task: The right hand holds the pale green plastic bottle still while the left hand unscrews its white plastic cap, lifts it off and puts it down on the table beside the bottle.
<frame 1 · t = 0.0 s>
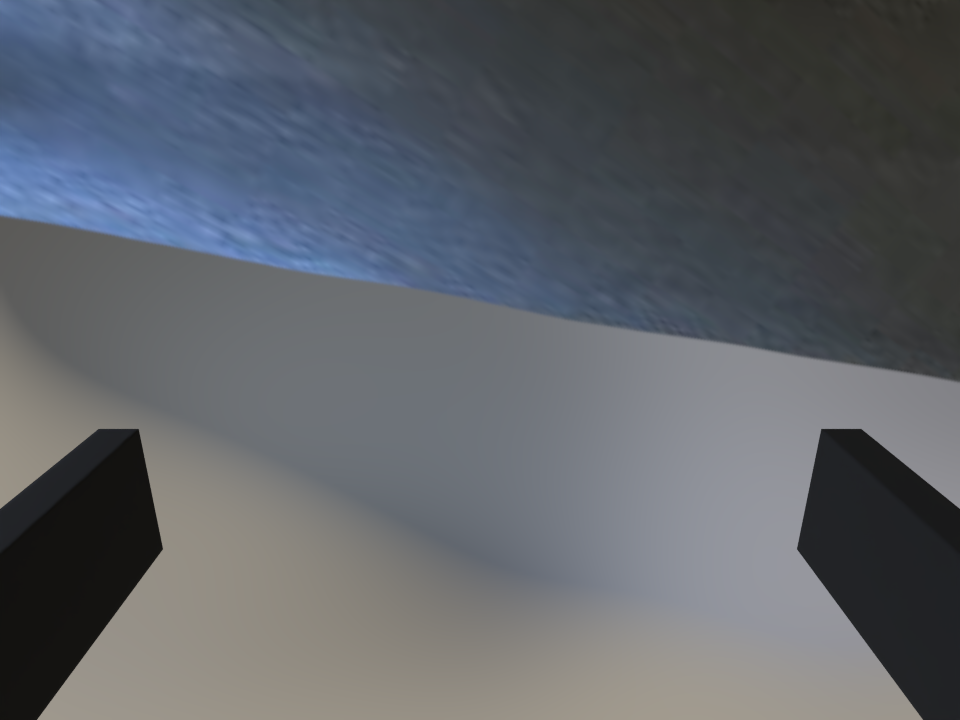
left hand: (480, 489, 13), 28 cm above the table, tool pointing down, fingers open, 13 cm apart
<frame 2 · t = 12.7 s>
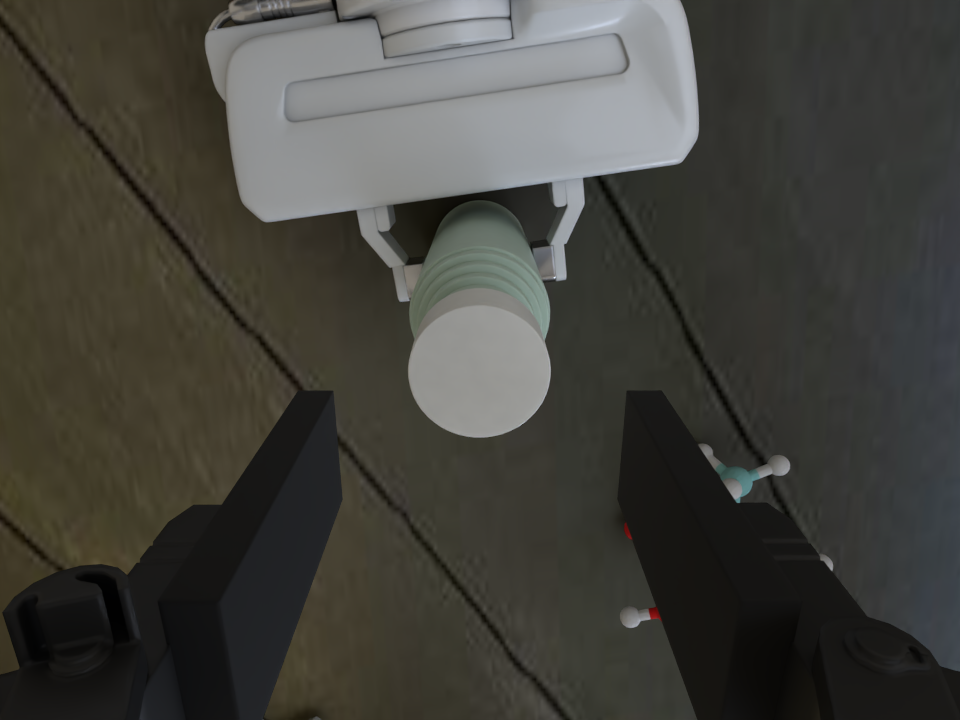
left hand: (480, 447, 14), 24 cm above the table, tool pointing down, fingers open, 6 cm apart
right hand: (483, 288, 31), fingers closed on bottle, 5 cm apart
bottle: (480, 246, 37), on the table, touching right hand
molecular model: (704, 507, 43), on the table
cap: (479, 370, 19), point 19 cm above the table, screwed on, not yet turned
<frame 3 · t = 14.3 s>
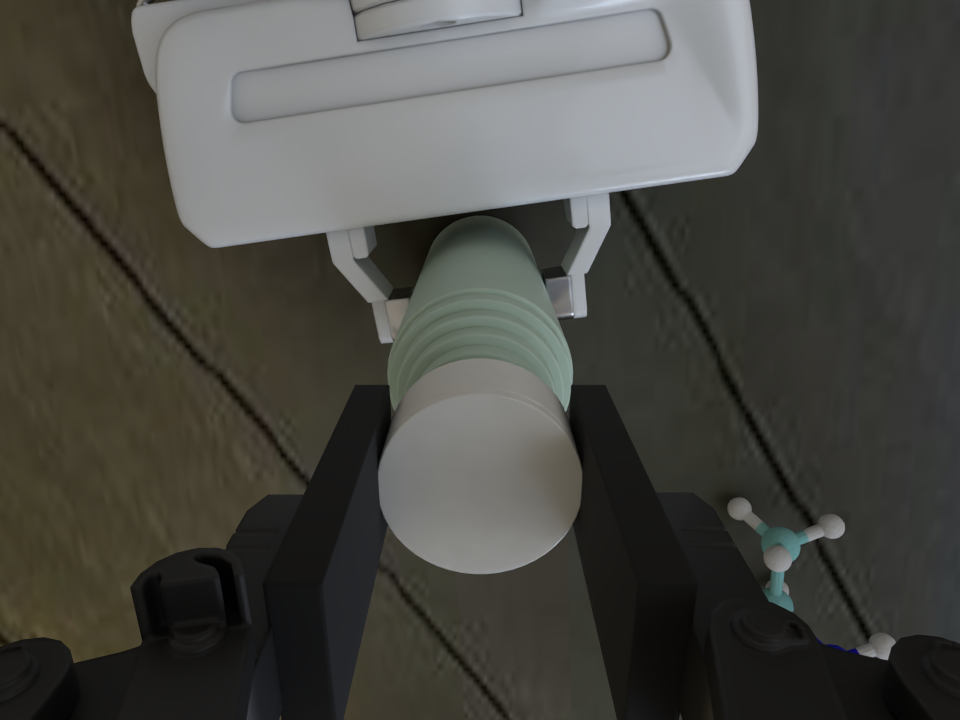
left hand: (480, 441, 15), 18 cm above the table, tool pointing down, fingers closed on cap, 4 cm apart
right hand: (484, 326, 26), fingers closed on bottle, 5 cm apart
bottle: (480, 270, 31), on the table, touching right hand
molecular model: (739, 567, 37), on the table
cap: (480, 481, 13), point 19 cm above the table, screwed on, not yet turned, touching left hand
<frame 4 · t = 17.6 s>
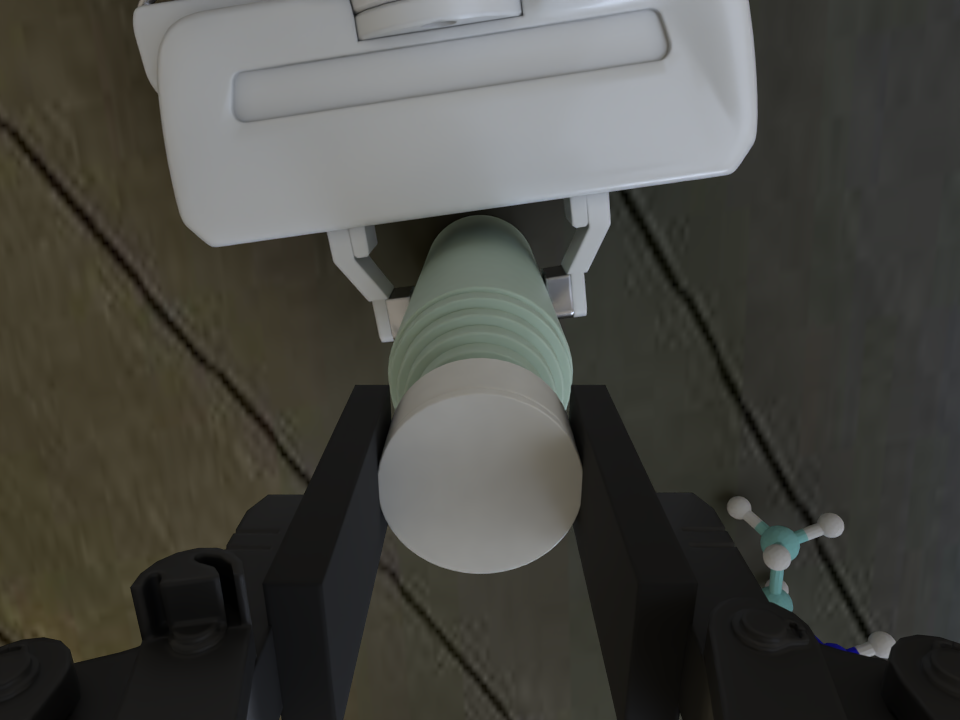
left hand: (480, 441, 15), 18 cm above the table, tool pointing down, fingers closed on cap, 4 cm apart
right hand: (484, 325, 26), fingers closed on bottle, 5 cm apart
bottle: (480, 269, 31), on the table, touching right hand
molecular model: (738, 566, 37), on the table
cap: (480, 481, 13), point 20 cm above the table, turned 99° so far, risen 0.1 cm, still on its thread, touching left hand
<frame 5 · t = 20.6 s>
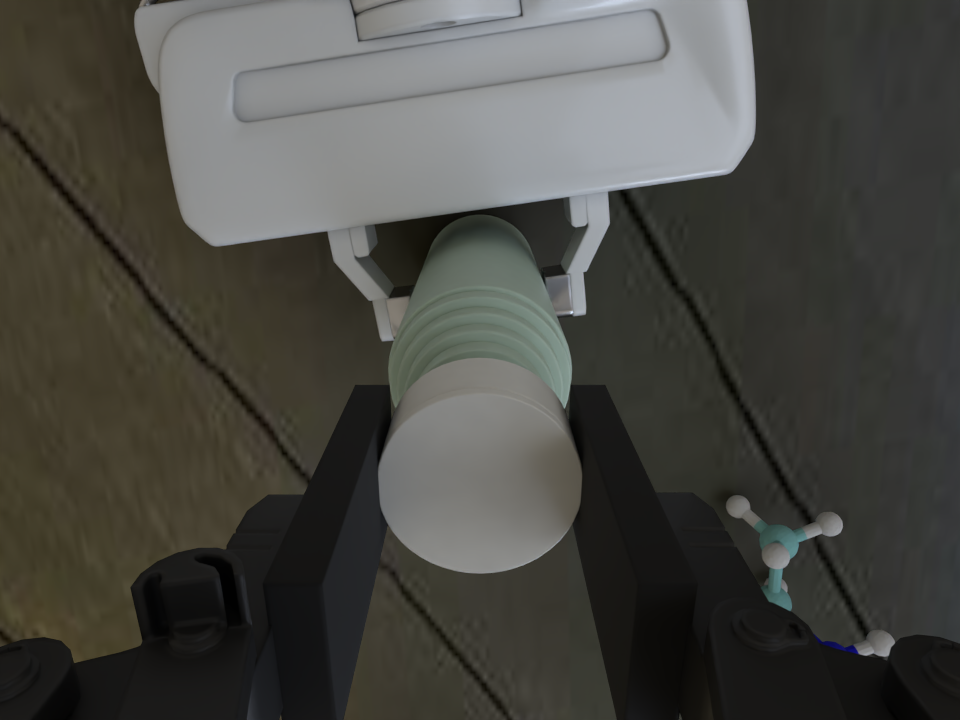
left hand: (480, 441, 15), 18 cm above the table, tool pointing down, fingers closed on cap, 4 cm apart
right hand: (484, 324, 26), fingers closed on bottle, 5 cm apart
bottle: (480, 269, 31), on the table, touching right hand
molecular model: (738, 565, 37), on the table
cap: (479, 480, 13), point 20 cm above the table, turned 199° so far, risen 0.2 cm, still on its thread, touching left hand
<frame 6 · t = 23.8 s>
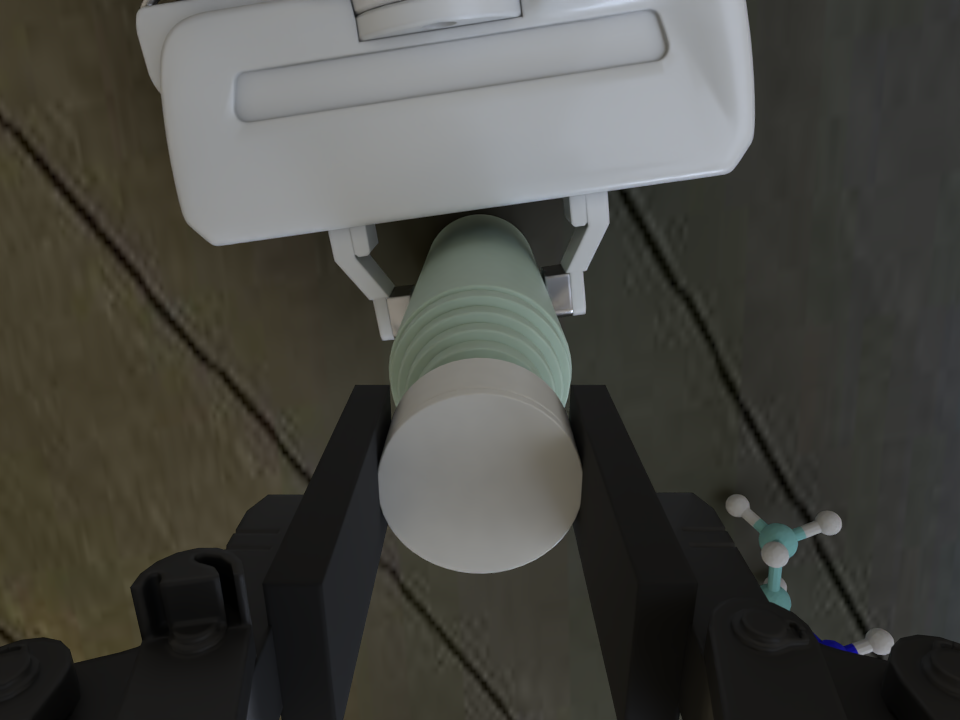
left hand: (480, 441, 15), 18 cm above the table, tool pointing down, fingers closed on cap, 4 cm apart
right hand: (484, 323, 26), fingers closed on bottle, 5 cm apart
bottle: (480, 268, 32), on the table, touching right hand
molecular model: (737, 564, 38), on the table
cap: (480, 480, 13), point 20 cm above the table, turned 298° so far, risen 0.3 cm, still on its thread, touching left hand
when the left hand's fingers open (1 cm above the table, at t = 30.9 s): cap stays where it is, point 2 cm above the table.
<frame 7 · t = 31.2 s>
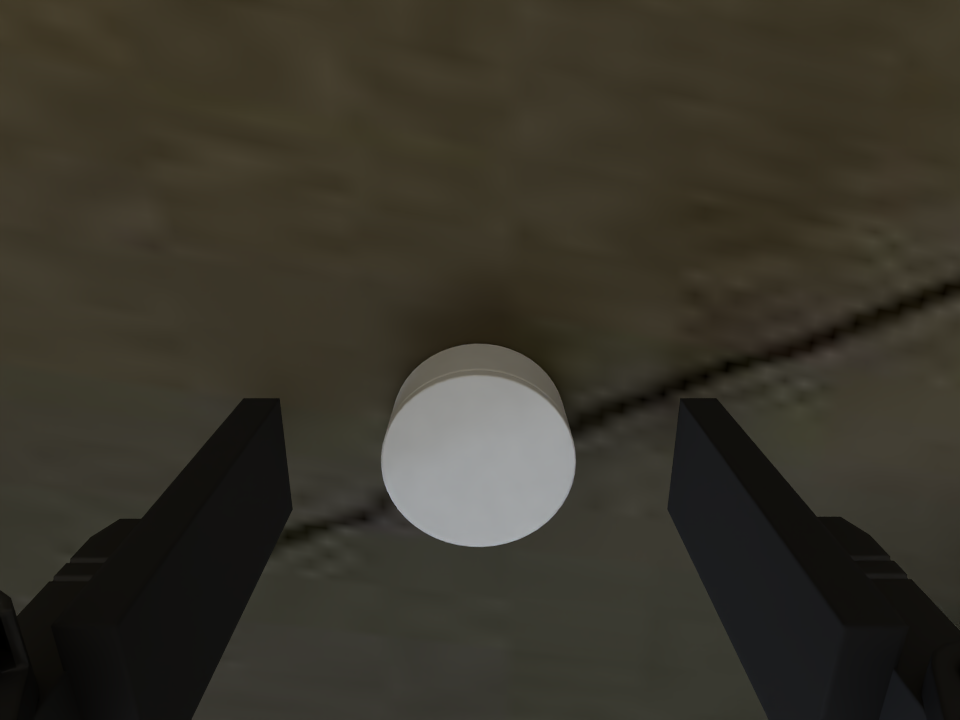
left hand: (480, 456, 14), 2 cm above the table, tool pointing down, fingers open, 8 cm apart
cap: (478, 458, 14), point 2 cm above the table, off its thread
when the right hand's fingers open (6 cm above the table, at t = 32.2 s): bottle stays where it is, on the table.
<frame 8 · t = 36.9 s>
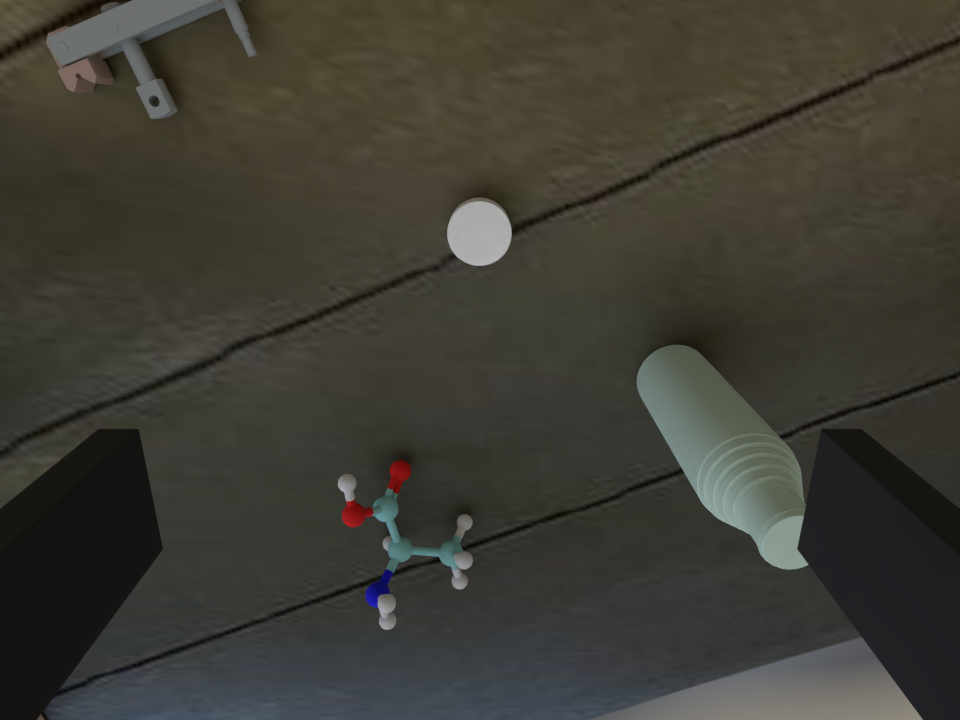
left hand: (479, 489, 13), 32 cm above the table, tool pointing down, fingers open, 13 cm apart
bottle: (672, 378, 47), on the table
molecular model: (406, 517, 51), on the table
clamp: (182, 11, 38), on the table
cap: (479, 233, 41), point 2 cm above the table, off its thread
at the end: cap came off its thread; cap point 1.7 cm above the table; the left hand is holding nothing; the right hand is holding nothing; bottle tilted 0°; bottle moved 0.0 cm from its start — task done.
